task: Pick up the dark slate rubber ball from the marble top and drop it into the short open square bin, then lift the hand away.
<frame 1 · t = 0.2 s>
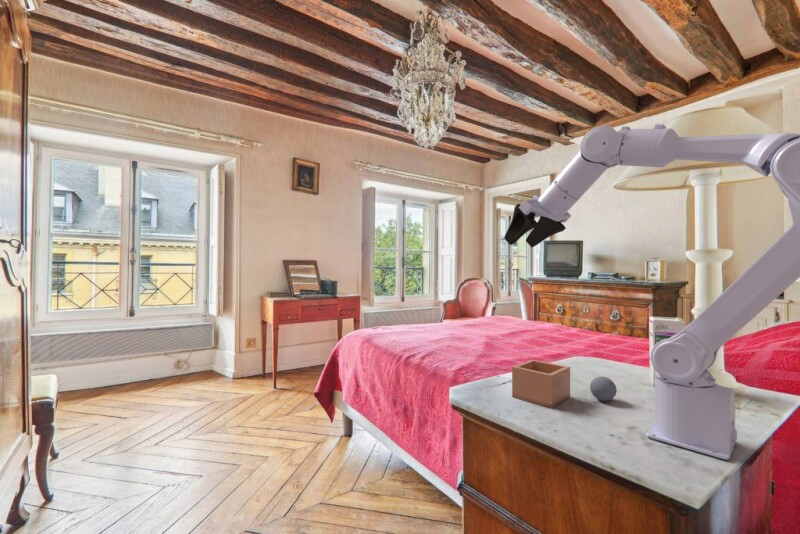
hand: (518, 242, 77), 31 cm above the nightstand top, tool tilted 45°, fingers open, 7 cm apart
syrup box: (666, 385, 81), on the nightstand top
ball: (603, 400, 72), on the nightstand top
open square bin: (541, 397, 74), on the nightstand top
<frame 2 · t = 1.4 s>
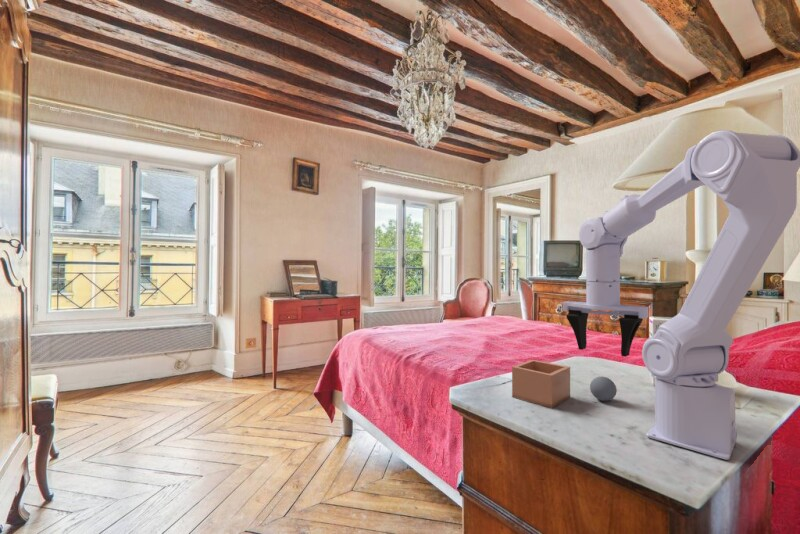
hand: (602, 352, 72), 9 cm above the nightstand top, tool pointing down, fingers open, 7 cm apart
nothing on the nightstand top moved.
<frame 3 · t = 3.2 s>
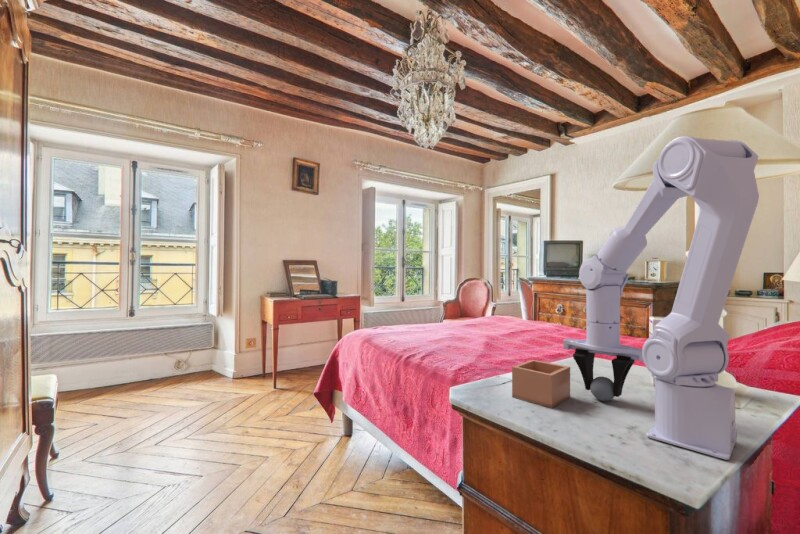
hand: (603, 391, 72), 2 cm above the nightstand top, tool pointing down, fingers closed on ball, 4 cm apart
ball: (603, 400, 72), on the nightstand top, touching gripper
everything else where it was.
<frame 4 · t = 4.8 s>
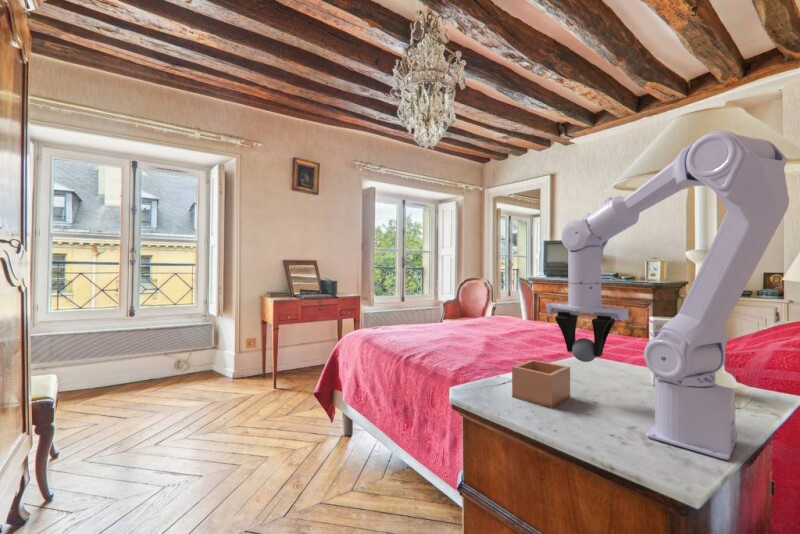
hand: (584, 353, 72), 9 cm above the nightstand top, tool pointing down, fingers closed on ball, 4 cm apart
ball: (584, 361, 72), point 7 cm above the nightstand top, touching gripper
everything else where it was.
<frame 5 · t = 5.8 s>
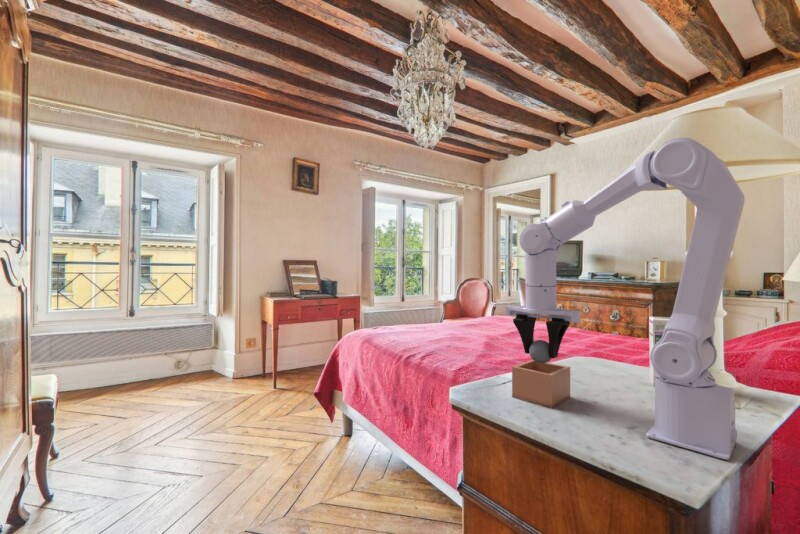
hand: (540, 354, 74), 8 cm above the nightstand top, tool pointing down, fingers closed on ball, 4 cm apart
ball: (541, 362, 74), point 7 cm above the nightstand top, touching gripper
everything else where it was.
when the fingers open (8 cm above the nightstand top, at t = 6.6 s): ball drops 6 cm, resting on open square bin.
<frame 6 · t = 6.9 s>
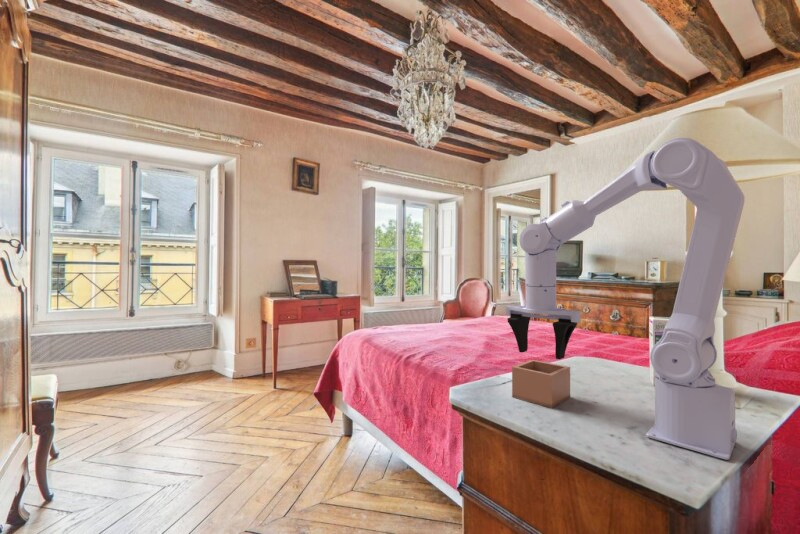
hand: (540, 354, 74), 8 cm above the nightstand top, tool pointing down, fingers open, 7 cm apart
ball: (541, 394, 74), point 1 cm above the nightstand top, touching open square bin
everything else where it was.
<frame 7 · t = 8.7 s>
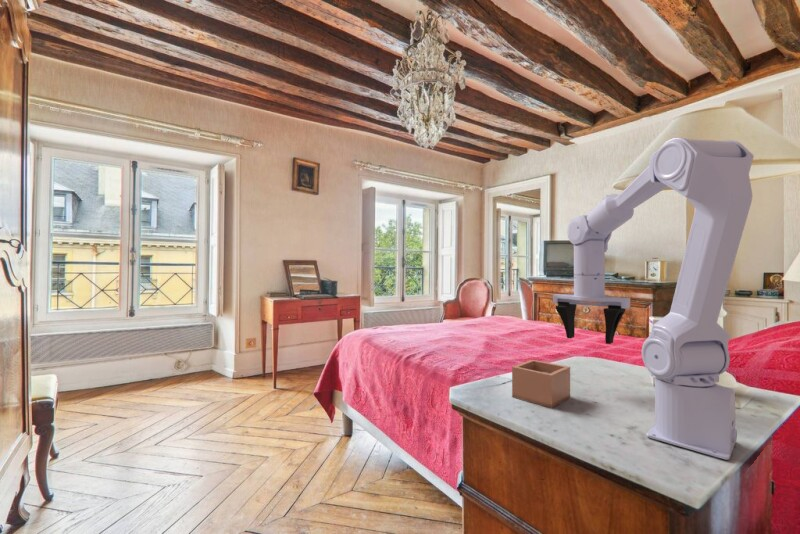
hand: (589, 340, 77), 10 cm above the nightstand top, tool pointing down, fingers open, 7 cm apart
ball: (541, 393, 74), point 1 cm above the nightstand top, tilted 21°, touching open square bin
everything else where it was.
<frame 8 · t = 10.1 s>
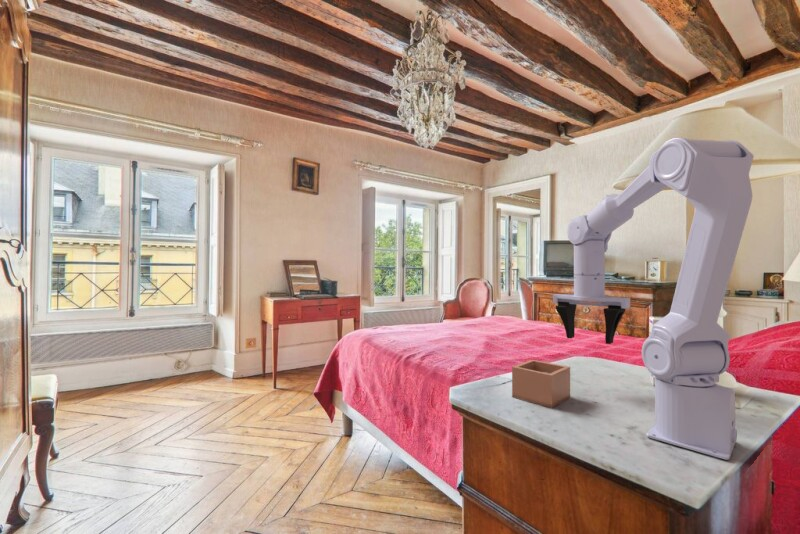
hand: (589, 340, 77), 10 cm above the nightstand top, tool pointing down, fingers open, 7 cm apart
nothing on the nightstand top moved.
at the end: ball 0.1 cm off-centre on the open square bin, point 0.8 cm above the open square bin's base; the gripper is holding nothing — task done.
